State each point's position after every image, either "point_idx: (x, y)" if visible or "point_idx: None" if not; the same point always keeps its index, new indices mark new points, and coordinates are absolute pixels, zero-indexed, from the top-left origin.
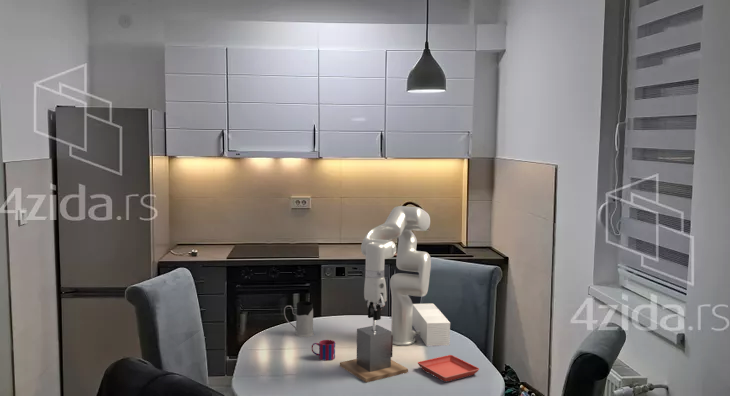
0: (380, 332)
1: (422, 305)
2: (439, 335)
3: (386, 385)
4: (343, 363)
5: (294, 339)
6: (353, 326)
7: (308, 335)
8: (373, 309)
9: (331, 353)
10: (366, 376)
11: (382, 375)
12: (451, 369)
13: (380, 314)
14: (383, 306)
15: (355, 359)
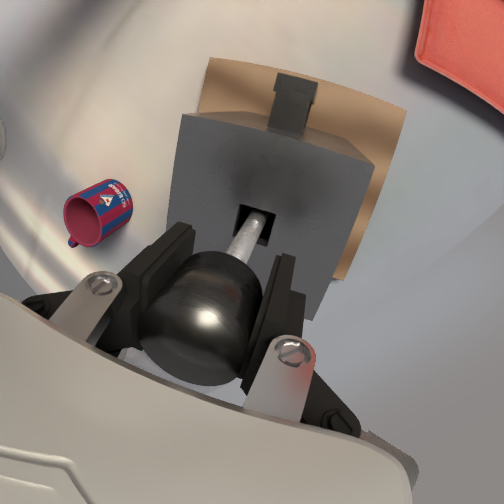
0: (326, 239)
1: None
2: None
3: (405, 251)
4: None
5: (6, 178)
6: (18, 7)
7: (3, 142)
8: (221, 379)
9: (120, 215)
10: None
11: (368, 221)
12: (486, 20)
13: (289, 286)
14: (389, 450)
15: None
